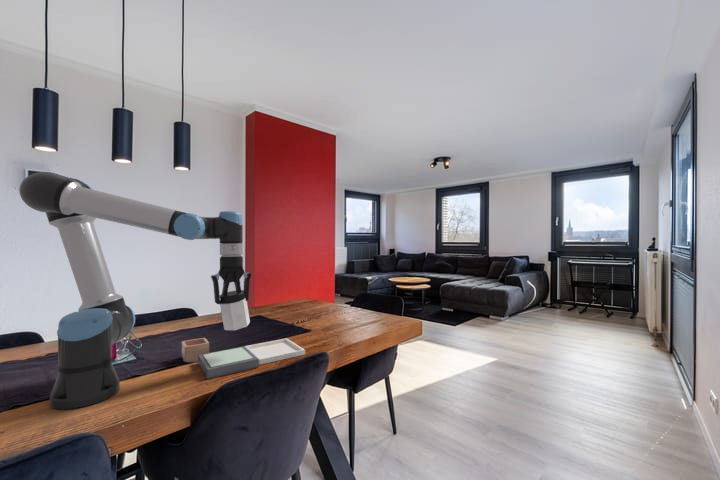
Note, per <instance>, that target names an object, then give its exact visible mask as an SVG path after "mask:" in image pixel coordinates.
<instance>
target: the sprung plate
mask: <svg viewBox="0 0 720 480" xmlns="http://www.w3.org/2000/svg"><path fill="white" fill-rule="evenodd" d="M240 347H241V348H238V347H235V348H236V349H233V348H230V349H231V350H228V349H224V350H225V351H222V350H219V351H220V352H217V351H214V352H215V353H212V352H209V353H210V354H204V355H203V358H204V359H205V361H206V362H207V364H208V365H209V367H210V368H213V367H218V366H222V365H227V364H232V363H236V362H241V361H246V360H250V359H253V357H252V356H250V355H249V354H248V353H247V352H246V351H245V350H244V349H243V348H242V347H243V346H240Z"/></svg>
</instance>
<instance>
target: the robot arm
mask: <svg viewBox="0 0 720 480" xmlns="http://www.w3.org/2000/svg"><path fill="white" fill-rule="evenodd" d="M18 189H19V196H20V199H22V201H23V203H25V204H26V205H27V206H28V207H29V208H31V209H33V210H35V211H37V212H41V213H45V215H46V218H47V221H48V224H49V225H50V226H53V227H55V228H57V230H58V232H59V235H60V239H61V241H62V244H63V248H64V250H65V253H66V257H67V260H68V263H69V265H70V268H71V269H70V270H71V272H72V275H73V278H74V280H75V283H76V286H77V289H78V292H79V295H80V299H81V302H82V303H81V304H80V306H79V308H78V311H74V312H71V313H68V314H65V315H64V316H63V317H62V318H60V320H59V322H58V325H57V328H58V329H57V330H56V332H57V333H56V336H57V358H58V359H57V362H58V363H57V365H58V371H57V372H58V373H57V377H56V380H55V382H54V385H53V387H52V390H51V392H50V395H49V406H50V408H52V409H55V410H72V408H73V409H79V408H84V407H87V406H88V407H89V406H91V405H94V404H97V403H100V402H102V401H105V400H107V399H109V398H111V397H114V396H115V395H116V394H118V392H119V391H120V387H121V386H120V382H121V381H120V379H119V376H118V374H117V371H116V369H115V367H114V365H113V345H115V344H116V343H117V342H119V341H121V340H123V339H124V338H126V337H127V335H129V334H130V332H131V331H132V330H133V328H134V326H135V324H136V315H135V312H134V309H132V307H130V306H128V305H127V304H126V302H125V299H124V296H123V295H120V294H118V293H116V292H117V291H116V289H115V286H114V284H113V283H114V282H113V280H112V278H111V275H110V271H109V268H108V265H107V262H106V259H105V256H104V252H103V250H102V247H101V243H100V240H99V236H98V234H97V231H96V228H95V224H94V221H95V220H96V219H100V220H104V221H109V222H112V223H113V222H114V223H118V224H122V225H126V226H131V227H136V228H140V229H143V230H149V231H153V232H157V233H162V234H165V235H170V236H173V237H179V238H181V239H184V240H189V241H192V240H209V239H210V240H214V239H215V240H216V239H217V240H219V255H220V257H219V270H218V272H217V273H215V274H214V275H213V274H212V275H210V278H211V281H212V284H213V297H214V303H215V304H217V305H220V304H222V303H221V301H220V295H221V294H222V295H223V296H224V295H227V293H228V292H229V286H230V283H233V284H234V288H235V291H237V292H241V290H242V287H241V281H240V279H241V278H242V277H243V291H244V293H245V298H246V301H247V302H248V301H249V296H250V295H249V293H250V280H251V277H252V273H250V272H247V271H245V269H244V264H243V263H244V256H242V255H243V254H244V253H243V246H244V245H243V242H244V241H243V238H244V237H243V225H244V224H243V214H242V213H241V212H239V211H232V210H231V211H230V210H229V211H227V210H225V211H220V212H219V214H218V216H214V217H211V216H210V217H207V216H199V215H197V214H195V213H190V212H189V213H187V212H183V211H180V210H177V209H172V208H169V207H164V206H159V205H156V204H152V203H148V202H143V201H140V200H135V199H132V198H128V197H124V196H121V195H120V196H119V195H117V194H112V193H107V192H103V191H100V190H96V189H94V188H92V187H91V186H90V185H88V184H87V183H85V182H84V181H83V180H80V179H77V178H72V177H69V176H64V175H62V174H59V173H55V172H49V171H38V172H34V173H31V174H30V175H28V176H26V177H25V178H24V179H23V180H22V181H21V183H20V186H19V188H18ZM220 278H221V280H223V283H222V284H223V285H222V291H221V294H220V286H219V285H220V284H219V280H220ZM220 314H221V315H222V313H221V312H220ZM83 406H84V407H83ZM78 407H79V408H78Z"/></svg>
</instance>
